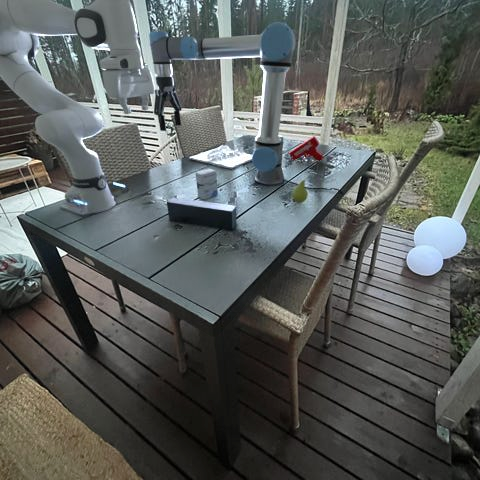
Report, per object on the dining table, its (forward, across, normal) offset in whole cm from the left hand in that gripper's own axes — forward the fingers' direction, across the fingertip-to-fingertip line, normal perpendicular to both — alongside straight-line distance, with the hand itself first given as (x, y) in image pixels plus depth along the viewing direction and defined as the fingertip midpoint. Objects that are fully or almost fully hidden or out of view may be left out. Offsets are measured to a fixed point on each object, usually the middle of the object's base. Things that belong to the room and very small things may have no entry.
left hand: (136, 111), depth 90 cm
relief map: (+39, -84, -3) cm, 92 cm away
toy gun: (+39, -95, +49) cm, 113 cm away
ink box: (+39, -25, +12) cm, 48 cm away
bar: (+39, 0, +21) cm, 44 cm away
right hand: (+12, -37, -11) cm, 41 cm away
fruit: (+39, -31, +54) cm, 73 cm away
